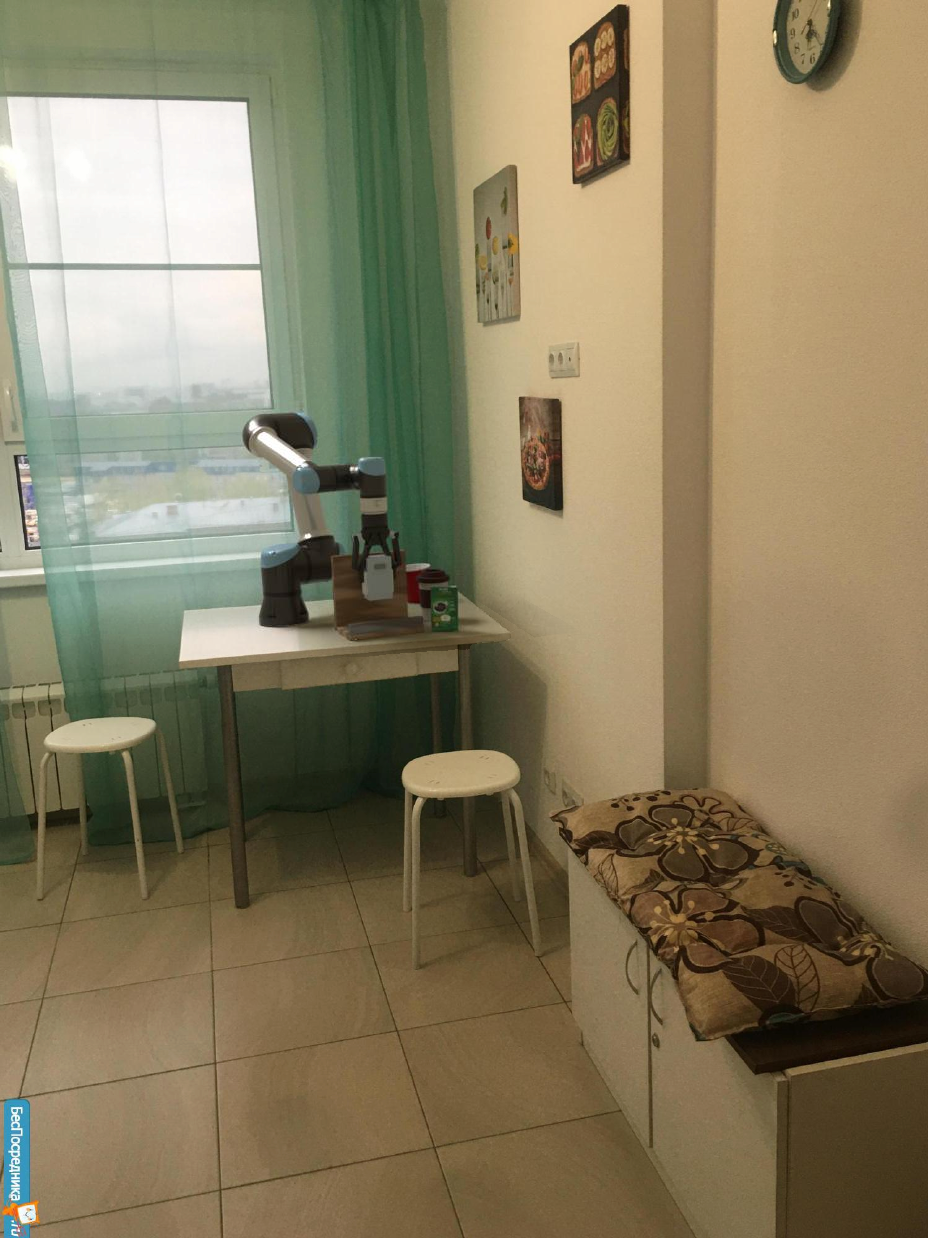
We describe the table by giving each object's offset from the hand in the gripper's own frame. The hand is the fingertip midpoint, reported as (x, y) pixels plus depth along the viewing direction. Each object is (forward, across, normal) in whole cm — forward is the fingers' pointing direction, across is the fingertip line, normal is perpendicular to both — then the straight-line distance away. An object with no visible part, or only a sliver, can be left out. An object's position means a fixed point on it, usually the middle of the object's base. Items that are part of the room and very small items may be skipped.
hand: (378, 592), depth 313 cm
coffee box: (+12, +17, -8) cm, 22 cm away
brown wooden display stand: (+12, 0, +1) cm, 12 cm away
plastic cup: (+12, +25, +38) cm, 47 cm away
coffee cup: (+12, +20, +8) cm, 24 cm away
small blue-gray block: (+2, 0, 0) cm, 2 cm away
